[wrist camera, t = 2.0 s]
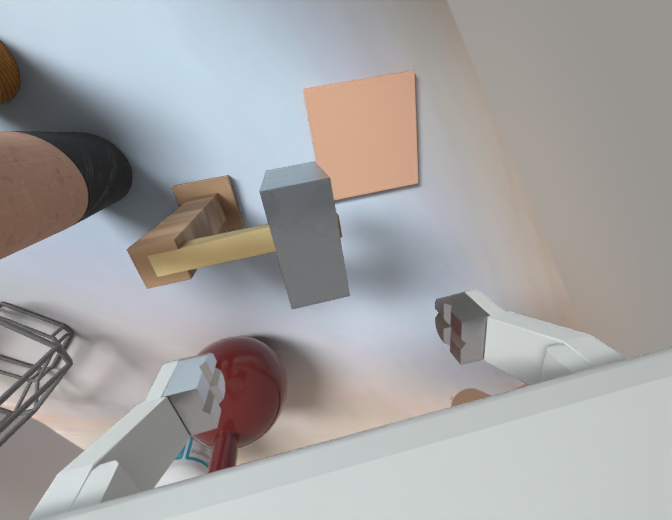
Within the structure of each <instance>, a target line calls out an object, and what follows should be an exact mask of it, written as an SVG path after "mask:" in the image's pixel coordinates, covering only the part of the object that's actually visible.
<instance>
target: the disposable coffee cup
mask: <svg viewBox="0 0 672 520" xmlns="http://www.w3.org/2000/svg"><path fill="white" fill-rule="evenodd" d="M19 85H20V76H19V71H18V67H17V65H16V62H15V60H14V58H13V57H12V55H11V53H10V52H9V51H8V49H7V48H6V47H5V45H4V44H3V43H2V42H1V41H0V104H4V103H6V102H8V101H10V100H11V99H12V98H13V97H15V95H16V93H17V91H18V89H19Z"/></svg>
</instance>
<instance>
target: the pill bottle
mask: <svg viewBox="0 0 672 520" xmlns="http://www.w3.org/2000/svg"><path fill="white" fill-rule="evenodd" d="M211 452H212V449H209V448H206V447H204V446H202V445H200V444H199V443H197V442H196V441H195V440H193V439H192V438H190V439H189V440H188V442H187V443H186V445H185V446H184V447H183V449H182V450H181V451H180V453H179V454H178V456H177V457H176V458H175V460H174V461H173V462H172V464H171V465H170V467H169V468H168V469H167V471H166V472H165V474H164V475H163V476H162V478H161V479H160V480H159V482H158V483H157V485H156V486H155V487H154V488H157V487H160V486H164V485H168V484H171V483H175V482H179V481H182V480H186V479H190V478H193V477H197V476H200V475H204V474H207V471H208V466H209V461H210V457H211Z"/></svg>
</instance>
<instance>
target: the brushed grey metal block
mask: <svg viewBox="0 0 672 520" xmlns="http://www.w3.org/2000/svg"><path fill="white" fill-rule="evenodd" d="M260 195H261V199H262V202H263V206H264V210H265V213H266V217H267V220H268V224H269V228H270V231H271V235H272V239H273V242H274V246H275V249H276V253H277V257H278V260H279V264H280V268H281V271H282V275H283V279H284V282H285V286H286V289H287V293H288V297H289V300H290V304H291V308H292V309H296V308H300V307H304V306H308V305H313V304H317V303H321V302H326V301H330V300H334V299H338V298H343V297H347V296H350V294H349V288H348V282H347V276H346V270H345V264H344V258H343V252H342V246H341V240H340V234H339V227H338V221H337V215H336V209H335V203H334V197H333V191H332V185H331V179H330V177H329V176H328V175H327V174H326V173H325V172H324V170H323V169H322V168H321V167H320V166H319V165H318V164H317V163H316V162H315V161H314V162H309V163H304V164H298V165H293V166H288V167H283V168H277V169H272V170H267V171H266V173H265V176H264V179H263V182H262V185H261V188H260Z"/></svg>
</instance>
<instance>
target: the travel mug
mask: <svg viewBox="0 0 672 520" xmlns="http://www.w3.org/2000/svg"><path fill="white" fill-rule="evenodd" d="M131 183H132V172H131V168H130V165H129V163H128V161H127V159H126V158H125V156H124V155H123V154H122V152H121V151H120V150H119V149H118V148H117V147H116V146H114V145H113V144H112V143H110V142H109V141H107V140H105V139H103V138H101V137H99V136H96V135H92V134H87V133H72V132H20V131H4V132H0V259H2V258H4V257H6V256H9V255H11V254H13V253H15V252H17V251H19V250H22V249H24V248H26V247H28V246H30V245H32V244H34V243H37V242H39V241H41V240H43V239H45V238H47V237H50V236H52V235H54V234H56V233H58V232H60V231H63V230H65V229H67V228H69V227H71V226H73V225H75V224H76V223H78V222H80V221H82V220H84V219H86V218H88V217H89V216H91V215H93V214H95V213H97V212H99V211H100V210H102V209H104V208H106V207H108V206H110V205H111V204H113V203H115V202H117V201H119V200H120V199H121V198H123V197H124V196H125V195H126V194H127V193H128V191H129V189H130V187H131Z"/></svg>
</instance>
